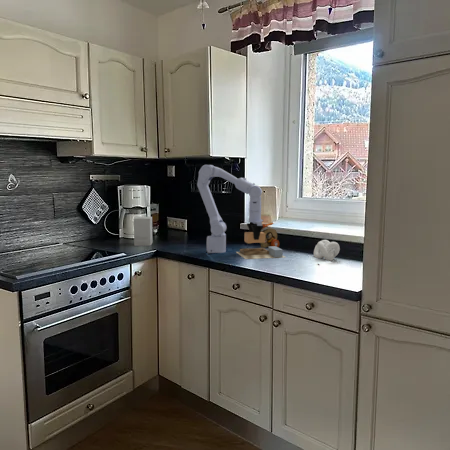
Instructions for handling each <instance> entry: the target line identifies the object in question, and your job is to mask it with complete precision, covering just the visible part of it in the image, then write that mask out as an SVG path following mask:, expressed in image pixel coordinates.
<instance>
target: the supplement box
mask: <svg viewBox="0 0 450 450" xmlns="http://www.w3.org/2000/svg"><path fill="white" fill-rule="evenodd" d="M133 243H134V244H133V245H134V247H138V246H139V247H143V246H144V247H147V246H149V247H150V246H151V245H152V244H153V216H136V217H134V218H133Z"/></svg>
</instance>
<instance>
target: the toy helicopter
mask: <svg viewBox="0 0 450 450" xmlns="http://www.w3.org/2000/svg"><path fill="white" fill-rule="evenodd" d="M262 225H263V228H262V230H261V232H263V233H265V243H259V245H260V248H264V249H266V248H268V247H270V246H276V247H278V248H280V241H279V239H278V232H277V230H276V229H274V228H271V227H269V226H271V225H274V222H269V223H267V224H265V223H262ZM247 244H249V245H251V244H252V243H247Z"/></svg>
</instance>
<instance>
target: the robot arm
mask: <svg viewBox="0 0 450 450" xmlns="http://www.w3.org/2000/svg"><path fill="white" fill-rule="evenodd" d="M215 177H217V178H218V177H219V178H222V179H224V180H226V181H228V183H229V182H230V183H232V184H234V186H235V188H236V189H237V190H238V191H241V192H242V193H244V194H246V195H249V205H248V206H249V209H248V211H249V213H248V214H249V216H248V223H246V225H247V228H248V232H253V235H254V240H259V236H260V232H262V231H263V230H262V228H263V222H264V220H263V219H262V195H263V194H262V193H263V190H262V188H261V187H260V186H259V185H256V184H255V183H254V182H251V181H249V180H248V179H247V178H246V177H239V178H237V177H236V176H235V175H233V174H231V173H229V172H228V171H226V170H224V169H223V168H221V167H219V166H214V165H213V164H204V165H202V166H201V167H200V169H199V171H198V177H197V183H196V185H197V188H198V191H199V194H200V196H201V199H202V201H203V204H204V206H205V209H206V213H207V214H208V217H209V224H210V232H211V235H207V236H206V252H207V254H214V253H215V254H216V253H217V254H222V253H226V251H227V248H226V247H227V234H226V233H225V232H226V231H227V229H228V228H227V223H226V222H224V221H223V218H222V217H221V215H220V213H219V211H218V208H217V205H216V203H215V199H214V197H213V194H212V191H211V189H210V187H209V185H210V183H211V181H212V179H213V178H215Z"/></svg>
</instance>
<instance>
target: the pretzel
mask: <svg viewBox="0 0 450 450" xmlns="http://www.w3.org/2000/svg"><path fill="white" fill-rule="evenodd" d="M340 250H341V248H340V244H339V243H338V242H336V241H329V240H328V239H321V240H320V241H318V242H317V244H315V247H314V249H313V256H314V258H316V259H325V260H326V261H329V262H332V261H333V260H334V258H335V257H336V256H338V254H339V253H340Z"/></svg>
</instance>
